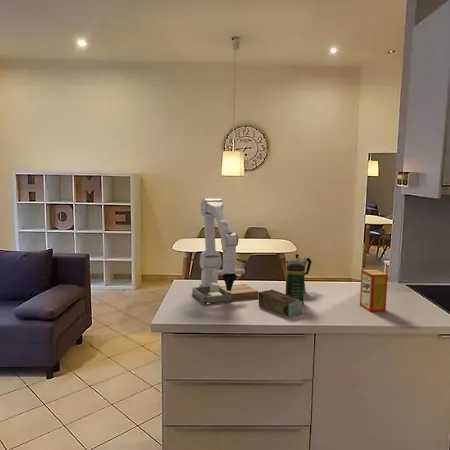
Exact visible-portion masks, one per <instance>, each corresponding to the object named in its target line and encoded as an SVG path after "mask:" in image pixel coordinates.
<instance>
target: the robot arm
mask: <svg viewBox="0 0 450 450" xmlns="http://www.w3.org/2000/svg"><path fill="white" fill-rule="evenodd" d="M223 210H224V201H223V199H222V198H202V200H201V202H200V215H201V216H202V217H203V219H204V223H203V224H204V225H203V226H204V243H205V244H204V245H205V250H203V251H202V252H201V253H200V255H199V266H200V268H201V270H202V271H201V276H200V278H201V279H200V281H201V282H200V284H199V287H206V286H210V283H214V282H215V283H217V284H219V276H221V277H222V279H223V280H224V283H225V286H226V288H227V290H228V291H231V289H232V285H234V282H235V280H236V278H237V275H238V274H239V275H240V274H243V275H244V274H245V272H246V270H245V268H236V261H237V259H236V257H237V247H238V245H239V235H238V234H237V233H236V232H235V231H233V230H232V226H231V224H230V222H229V221H228V220H226V218H225V215H224V212H223ZM215 221H217V226H216V228H217V229H218V230H217V231H218V232H219V235H220V245H221V250H222V257H221V253H220V252H219V251H218V250H216V231H215ZM221 267H222V269H220V268H221ZM219 287H220V285H219Z"/></svg>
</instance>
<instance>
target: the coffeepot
mask: <svg viewBox="0 0 450 450" xmlns="http://www.w3.org/2000/svg"><path fill="white" fill-rule="evenodd" d="M299 255H300V254H298V253H296V254H295V257H292V258H288V259H287V260H285V264H287V263H288V262H290V261H291V260H292V261H300V262H302V263H303V264H304V265H305V276H306V275H308V274H309V272H310V269H311V266H312V260H311V259H310V257H304V258H300V257H299ZM306 266H307V267H306ZM305 292H306V283H305V281H304V293H305Z"/></svg>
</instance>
